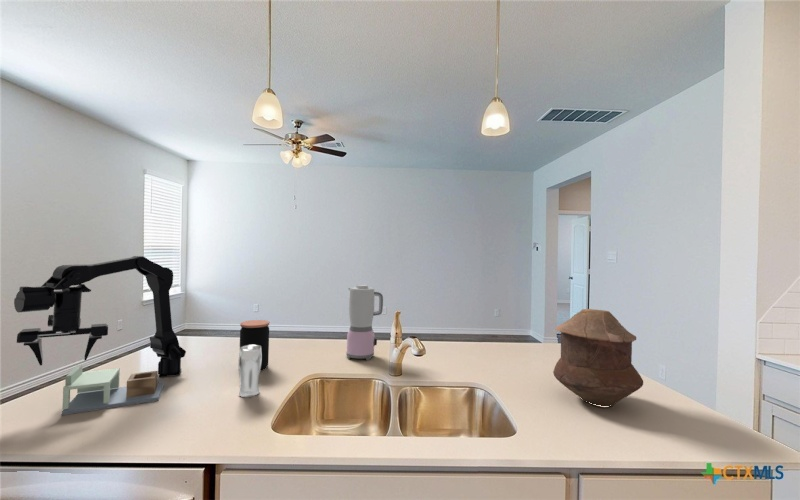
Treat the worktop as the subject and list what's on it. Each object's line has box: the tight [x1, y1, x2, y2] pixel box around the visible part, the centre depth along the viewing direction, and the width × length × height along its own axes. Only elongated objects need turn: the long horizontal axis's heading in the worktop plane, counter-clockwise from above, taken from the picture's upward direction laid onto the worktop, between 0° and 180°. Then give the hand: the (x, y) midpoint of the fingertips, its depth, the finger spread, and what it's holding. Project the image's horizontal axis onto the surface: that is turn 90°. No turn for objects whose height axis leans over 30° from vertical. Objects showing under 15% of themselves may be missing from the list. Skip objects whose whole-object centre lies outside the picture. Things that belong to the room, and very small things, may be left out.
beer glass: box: [237, 345, 262, 398], centre depth 113 cm, size 7×7×15 cm
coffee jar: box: [239, 319, 270, 372], centre depth 137 cm, size 11×11×18 cm
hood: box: [62, 364, 121, 410], centre depth 104 cm, size 10×13×9 cm
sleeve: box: [126, 370, 159, 398], centre depth 110 cm, size 7×7×5 cm
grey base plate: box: [61, 381, 165, 416], centre depth 107 cm, size 22×14×4 cm, turn 119°
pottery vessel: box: [552, 308, 644, 406], centre depth 115 cm, size 26×26×30 cm
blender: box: [345, 284, 384, 362], centre depth 155 cm, size 16×12×32 cm
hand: (63, 362), depth 101 cm, fingers open, 9 cm apart
